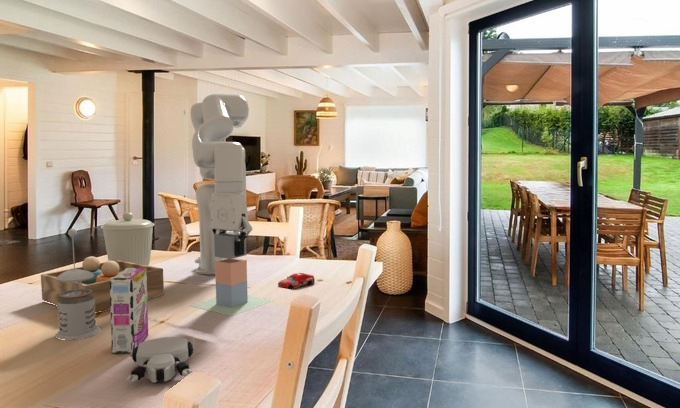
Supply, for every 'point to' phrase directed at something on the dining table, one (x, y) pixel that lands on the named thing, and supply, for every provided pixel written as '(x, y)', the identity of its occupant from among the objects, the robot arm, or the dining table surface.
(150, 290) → the wooden tray
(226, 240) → the gray cube
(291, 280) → the race car
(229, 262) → the brick
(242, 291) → the base brick
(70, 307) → the french press
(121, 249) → the canister
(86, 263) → the wooden peg doll toy
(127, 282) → the candy bar box
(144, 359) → the robot toy
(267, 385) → the dining table surface
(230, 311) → the board
